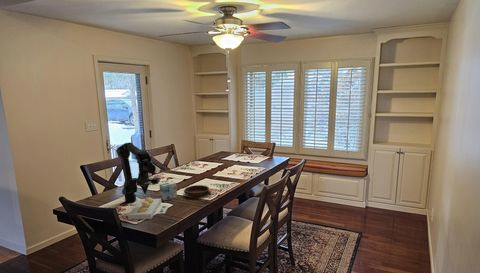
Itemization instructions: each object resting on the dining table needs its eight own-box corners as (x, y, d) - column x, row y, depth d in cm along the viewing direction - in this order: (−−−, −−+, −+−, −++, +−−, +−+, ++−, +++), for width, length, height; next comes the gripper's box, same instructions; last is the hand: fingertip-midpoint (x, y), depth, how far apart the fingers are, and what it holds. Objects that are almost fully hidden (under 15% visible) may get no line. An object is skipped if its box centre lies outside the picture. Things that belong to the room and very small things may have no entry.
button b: (141, 209, 189) (140, 203, 188) (143, 207, 193) (142, 201, 193) (148, 209, 189) (147, 203, 188) (149, 206, 193) (149, 201, 193)
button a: (138, 216, 182) (137, 210, 182) (140, 213, 186) (139, 207, 186) (145, 216, 182) (144, 209, 182) (147, 213, 187) (146, 207, 186)
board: (128, 219, 178) (127, 215, 178) (141, 203, 204) (140, 199, 204) (151, 218, 179) (150, 214, 178) (161, 202, 204) (161, 198, 204)
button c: (144, 205, 196) (144, 199, 195) (146, 203, 200) (146, 197, 199) (151, 205, 196) (150, 199, 195) (152, 202, 200) (152, 197, 200)
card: (156, 213, 186) (156, 212, 185) (161, 206, 197) (161, 205, 197) (164, 213, 186) (164, 212, 186) (168, 206, 198) (168, 205, 197)
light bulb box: (163, 200, 208) (162, 185, 206) (160, 198, 213) (158, 183, 212) (177, 197, 214) (176, 182, 212) (173, 194, 220) (172, 180, 218)
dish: (204, 200, 205) (204, 194, 204) (177, 197, 213) (177, 191, 212) (215, 192, 221) (215, 186, 220) (190, 190, 229) (189, 183, 228)
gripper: (124, 174, 182) (126, 198, 185) (154, 174, 182) (156, 198, 184) (130, 169, 193) (132, 192, 196) (159, 168, 193) (160, 191, 195)
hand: (145, 193), depth 192 cm, fingers closed
